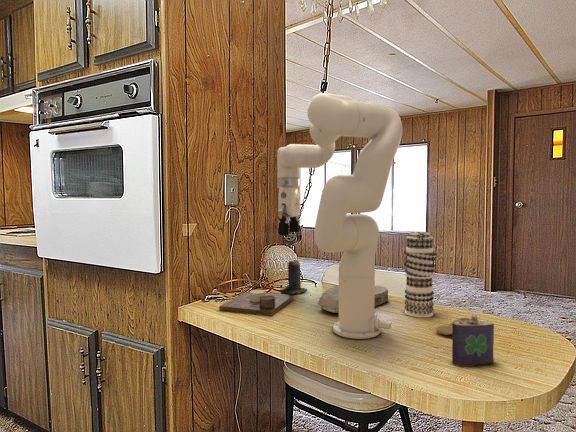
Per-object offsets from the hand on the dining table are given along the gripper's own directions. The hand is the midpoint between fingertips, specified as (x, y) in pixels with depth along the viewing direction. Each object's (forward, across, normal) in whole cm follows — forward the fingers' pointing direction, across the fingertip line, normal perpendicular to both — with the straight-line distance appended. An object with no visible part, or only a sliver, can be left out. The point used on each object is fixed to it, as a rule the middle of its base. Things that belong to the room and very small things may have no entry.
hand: (289, 233), depth 142 cm
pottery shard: (+24, -17, -54) cm, 61 cm away
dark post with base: (+24, +11, +2) cm, 26 cm away
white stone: (+22, -9, +8) cm, 25 cm away
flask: (+24, -36, -56) cm, 71 cm away
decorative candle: (+24, -2, -43) cm, 49 cm away
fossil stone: (+24, 0, -22) cm, 32 cm away
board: (+23, -9, +8) cm, 26 cm away
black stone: (+22, -15, +2) cm, 26 cm away
